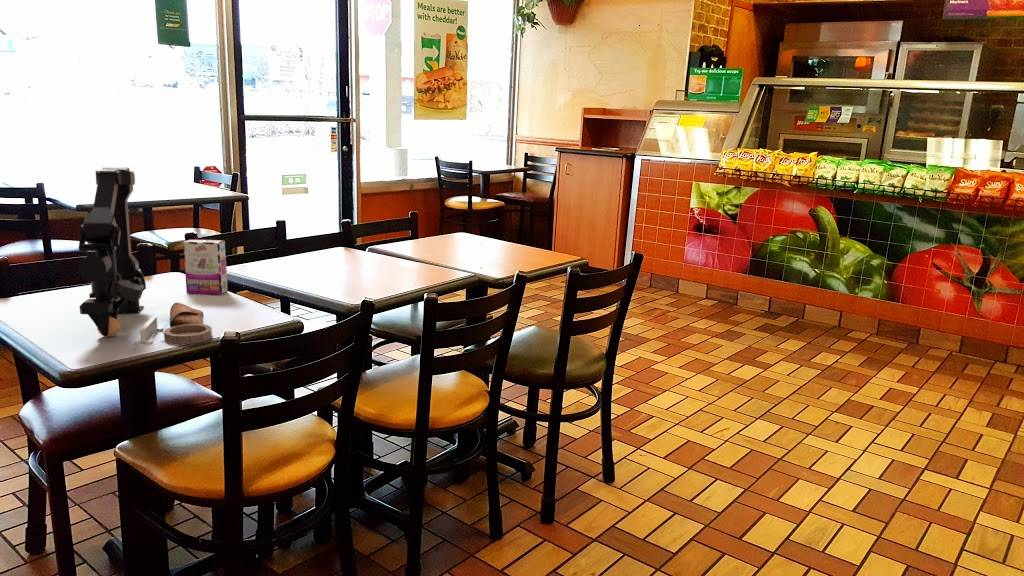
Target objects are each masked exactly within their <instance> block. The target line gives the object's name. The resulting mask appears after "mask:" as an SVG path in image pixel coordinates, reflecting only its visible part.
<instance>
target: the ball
mask: <svg viewBox="0 0 1024 576" xmlns="http://www.w3.org/2000/svg"><path fill="white" fill-rule="evenodd" d="M120 325H121V324H120V322H119V321H118V319H117V320H116V319H115V318H113V317H110V321H109V332H108V336H103V335H102V334H101V332H100V331H99V329H98V328H97V327H96V328H97V329H96V330H97V332H98V333H99V334H100V335H101V336H102V337H105V338H111V337H115V336H116V335H117V334H118V333H119V332H120V329H121V326H120Z"/></svg>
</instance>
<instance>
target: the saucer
mask: <svg viewBox="0 0 1024 576" xmlns="http://www.w3.org/2000/svg"><path fill="white" fill-rule="evenodd" d="M212 331H213V329H212V327H211V326H210V325H208V324H204V323H203V324H183V325H176V326H173V327H170V326H169V327H167V328H166V329H165V330H163V338H164V342H165V341H166V343H167V342H168V344H170V343H171V344H172V345H182V344H186V345H193V344H192V343H196V344H200V343H199V342H201V343H203V342H204V341H205V342H206V341H209V340H211V339H212V338H213V332H212ZM211 337H212V338H211ZM210 338H211V339H210ZM205 342H204V343H205Z"/></svg>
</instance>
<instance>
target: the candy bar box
mask: <svg viewBox="0 0 1024 576" xmlns="http://www.w3.org/2000/svg"><path fill="white" fill-rule="evenodd" d="M182 247H183V257H184V260H183V261H184V271H185V272H184V273H185V274H184V275H185V288H186V295H198V294H200V296H201V295H202V296H223V295H225V294H227V293H228V292H229V291H228V288H229V287H228V274H227V255H226V253H227V252H226V241H225V240H220V239H219V240H218V239H188V240H187V239H186V240H184V241H183V242H182Z"/></svg>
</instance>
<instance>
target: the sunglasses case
mask: <svg viewBox="0 0 1024 576" xmlns="http://www.w3.org/2000/svg"><path fill="white" fill-rule="evenodd" d="M203 314H204V312H203V310H200V309H196V308H192V307H191V306H189V305H186V304H184V303H180V302H175V303H173V304H172V305H171V306H170V309H169V328H170V327H173V326H176V325H183V324H204V322H203Z"/></svg>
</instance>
